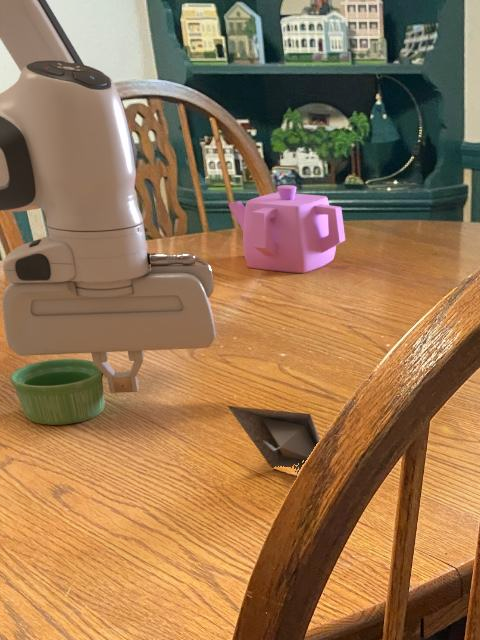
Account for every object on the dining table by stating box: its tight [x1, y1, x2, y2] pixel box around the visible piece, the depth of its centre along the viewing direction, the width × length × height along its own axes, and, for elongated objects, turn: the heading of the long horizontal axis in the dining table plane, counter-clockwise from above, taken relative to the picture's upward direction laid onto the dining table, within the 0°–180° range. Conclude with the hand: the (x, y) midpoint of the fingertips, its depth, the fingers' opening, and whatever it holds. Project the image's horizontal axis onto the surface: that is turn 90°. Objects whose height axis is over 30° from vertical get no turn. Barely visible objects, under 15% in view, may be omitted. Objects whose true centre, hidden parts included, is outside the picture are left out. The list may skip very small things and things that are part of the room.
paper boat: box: [227, 405, 321, 477], centre depth 83 cm, size 12×6×9 cm
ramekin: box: [9, 358, 106, 426], centre depth 95 cm, size 9×9×4 cm
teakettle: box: [227, 184, 346, 274], centre depth 154 cm, size 17×17×12 cm
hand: (124, 391), depth 96 cm, fingers closed
